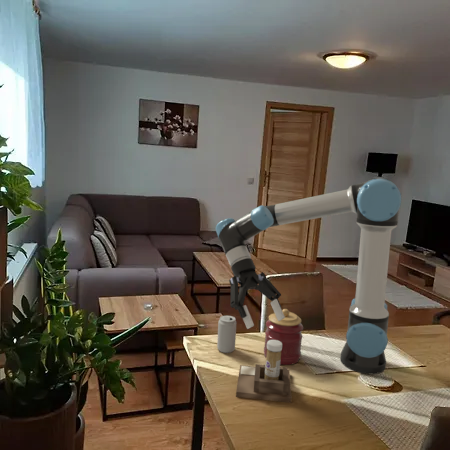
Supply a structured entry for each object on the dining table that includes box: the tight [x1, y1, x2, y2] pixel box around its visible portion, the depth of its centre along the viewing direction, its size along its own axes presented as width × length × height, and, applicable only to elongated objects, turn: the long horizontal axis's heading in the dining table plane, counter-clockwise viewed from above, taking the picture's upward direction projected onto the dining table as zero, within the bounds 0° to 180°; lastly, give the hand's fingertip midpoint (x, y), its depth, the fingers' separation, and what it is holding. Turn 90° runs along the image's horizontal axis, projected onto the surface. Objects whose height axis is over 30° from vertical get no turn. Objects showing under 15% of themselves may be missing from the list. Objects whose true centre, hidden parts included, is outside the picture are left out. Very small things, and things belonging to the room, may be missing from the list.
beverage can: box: [216, 315, 237, 354], centre depth 153 cm, size 6×6×12 cm
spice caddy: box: [235, 363, 293, 403], centre depth 131 cm, size 16×16×5 cm
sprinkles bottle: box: [264, 340, 282, 381], centre depth 129 cm, size 5×5×13 cm
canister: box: [263, 308, 304, 366], centre depth 149 cm, size 13×13×18 cm
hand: (266, 323), depth 132 cm, fingers open, 13 cm apart
